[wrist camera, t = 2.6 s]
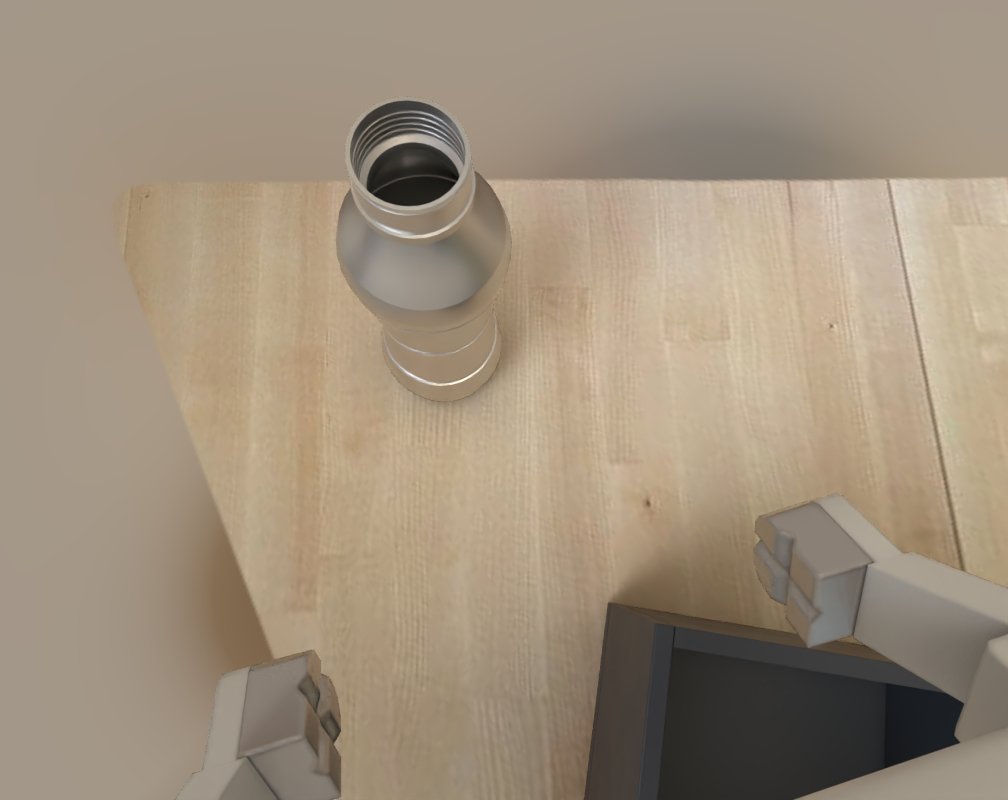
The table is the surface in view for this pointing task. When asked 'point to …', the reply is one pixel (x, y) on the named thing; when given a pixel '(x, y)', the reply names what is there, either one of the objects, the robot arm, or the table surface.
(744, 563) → the table surface
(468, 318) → the silver bottle
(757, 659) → the waste bin
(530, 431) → the table surface
